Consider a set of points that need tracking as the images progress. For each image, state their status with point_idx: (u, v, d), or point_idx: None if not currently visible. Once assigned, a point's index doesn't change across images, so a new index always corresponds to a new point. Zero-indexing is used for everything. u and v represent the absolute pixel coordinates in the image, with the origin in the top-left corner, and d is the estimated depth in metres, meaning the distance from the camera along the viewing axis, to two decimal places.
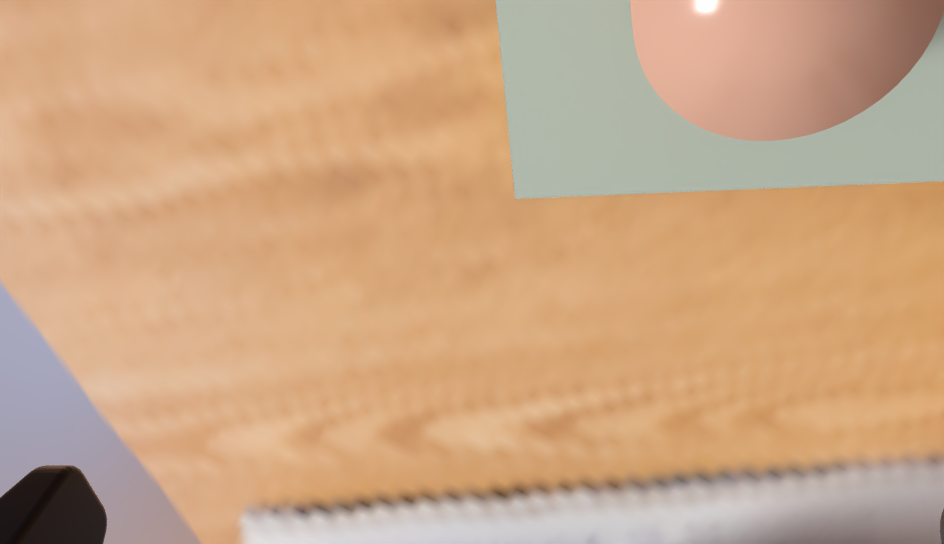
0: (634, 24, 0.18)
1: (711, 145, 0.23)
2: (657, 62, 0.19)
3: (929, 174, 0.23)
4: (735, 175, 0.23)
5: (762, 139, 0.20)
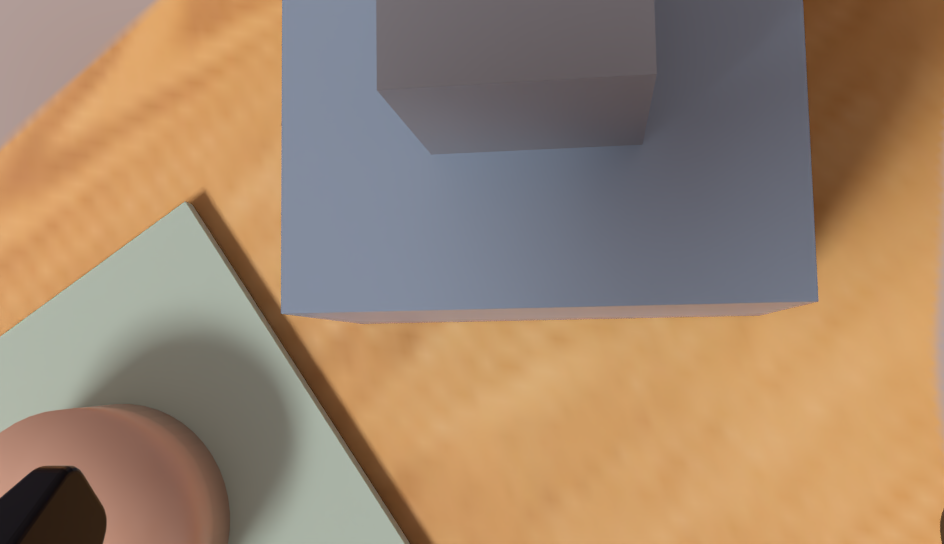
0: None
1: None
2: None
3: None
4: None
5: None
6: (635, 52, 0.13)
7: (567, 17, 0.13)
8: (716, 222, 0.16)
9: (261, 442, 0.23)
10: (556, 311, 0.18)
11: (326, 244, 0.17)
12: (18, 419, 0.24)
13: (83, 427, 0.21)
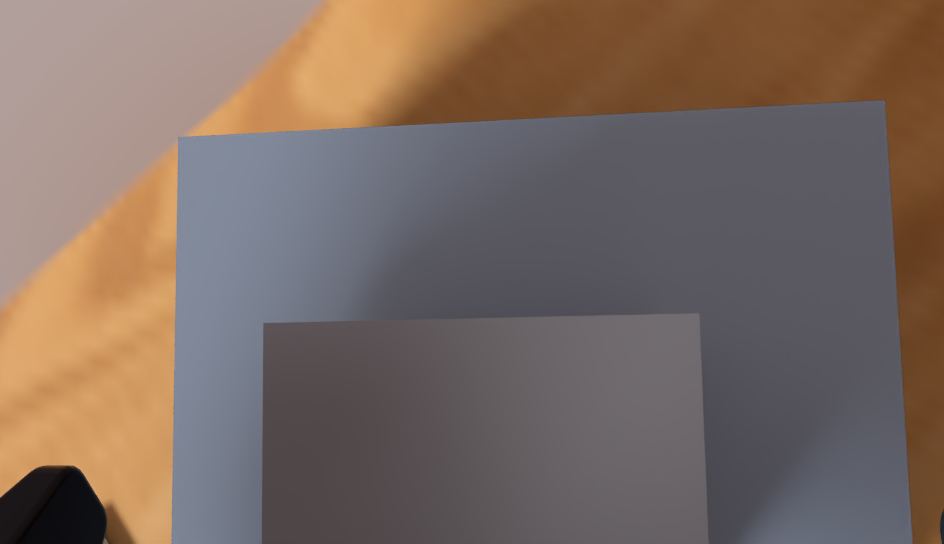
0: None
1: None
2: None
3: None
4: None
5: None
6: None
7: None
8: None
9: None
10: None
11: None
12: None
13: None
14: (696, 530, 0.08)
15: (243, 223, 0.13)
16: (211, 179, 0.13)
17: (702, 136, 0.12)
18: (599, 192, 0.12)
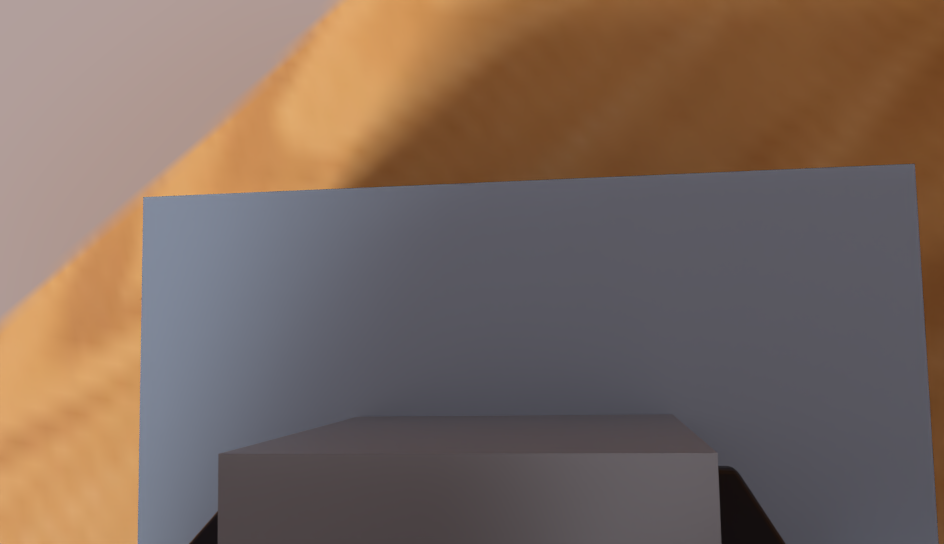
0: None
1: None
2: None
3: None
4: None
5: None
6: None
7: None
8: None
9: None
10: None
11: None
12: None
13: None
14: None
15: (213, 292, 0.12)
16: (179, 244, 0.12)
17: (714, 202, 0.11)
18: (601, 262, 0.11)
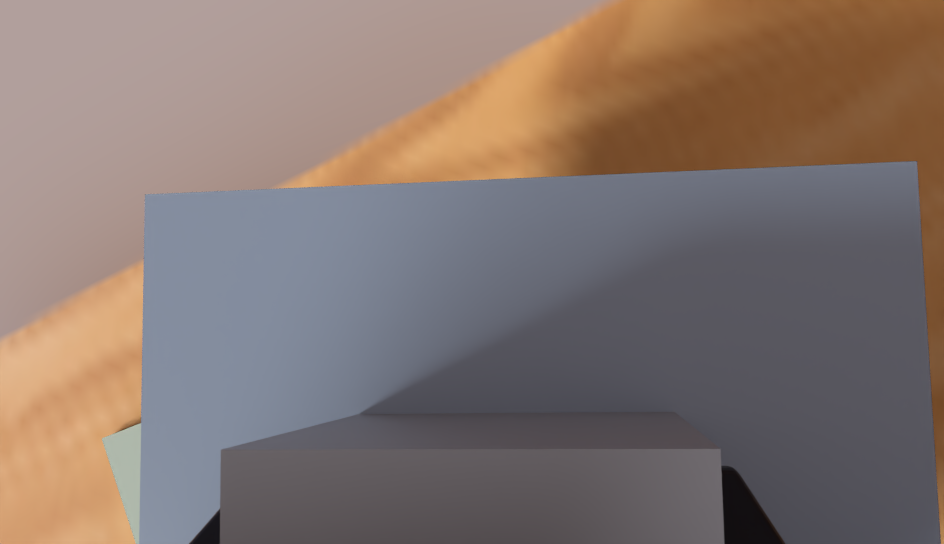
0: None
1: None
2: None
3: None
4: None
5: None
6: None
7: None
8: None
9: None
10: None
11: None
12: None
13: None
14: None
15: (215, 289, 0.12)
16: (180, 241, 0.12)
17: (715, 199, 0.11)
18: (603, 260, 0.11)
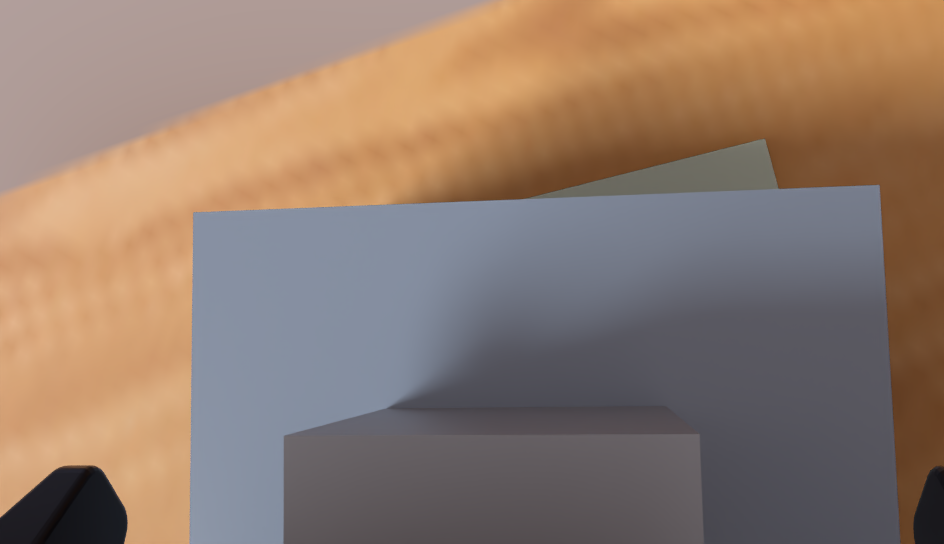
0: None
1: None
2: None
3: None
4: None
5: None
6: None
7: None
8: None
9: None
10: None
11: None
12: None
13: None
14: None
15: (257, 297, 0.14)
16: (225, 254, 0.14)
17: (702, 218, 0.13)
18: (602, 271, 0.13)
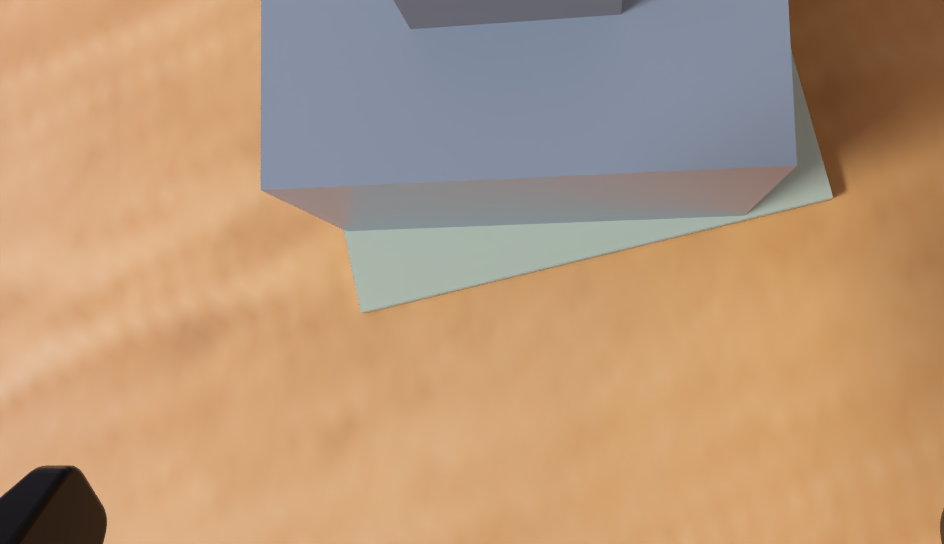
0: None
1: None
2: None
3: (769, 203, 0.22)
4: (575, 241, 0.22)
5: None
6: None
7: None
8: (695, 90, 0.16)
9: None
10: (537, 192, 0.18)
11: (306, 120, 0.17)
12: None
13: None
14: None
15: None
16: None
17: None
18: None
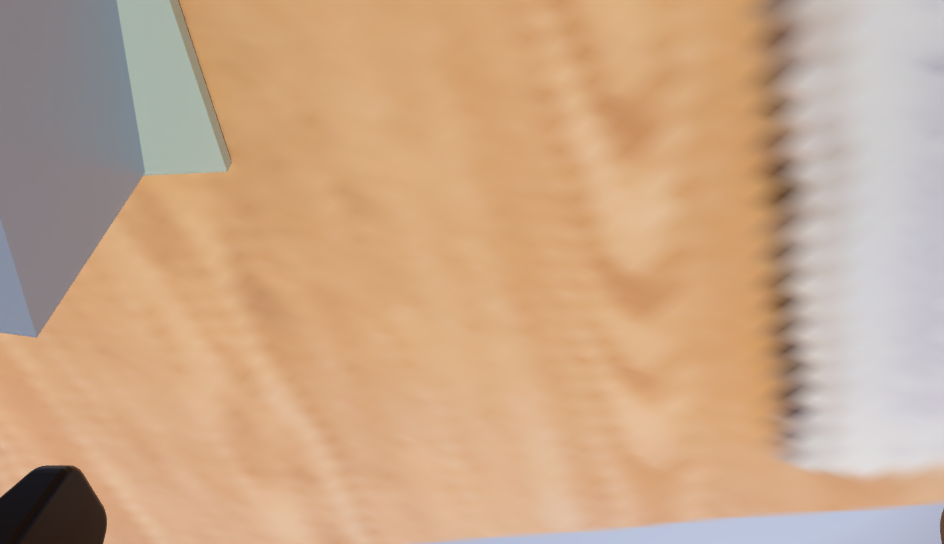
0: None
1: None
2: None
3: None
4: None
5: None
6: None
7: None
8: None
9: None
10: (14, 65, 0.16)
11: None
12: None
13: None
14: None
15: None
16: None
17: None
18: None
